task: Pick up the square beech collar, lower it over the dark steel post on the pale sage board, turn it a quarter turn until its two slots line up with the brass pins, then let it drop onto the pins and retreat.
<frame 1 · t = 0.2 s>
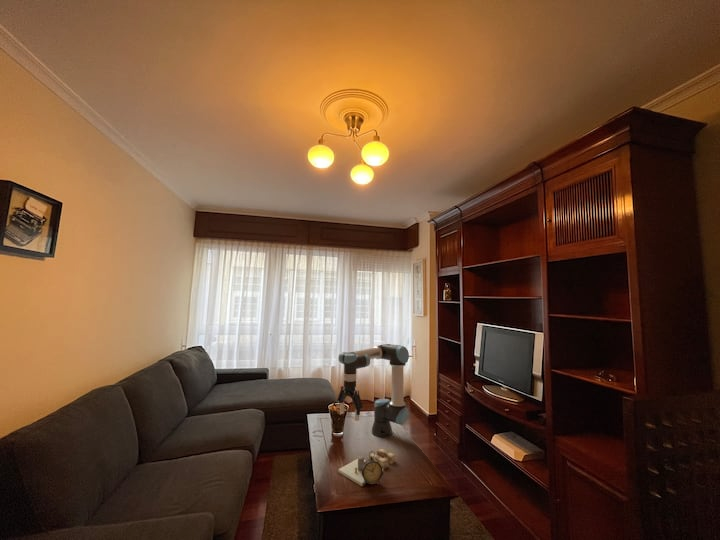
hand: (349, 417, 171), 27 cm above the table, fingers open, 13 cm apart
alarm clock: (371, 483, 152), on the table, touching post board
post board: (360, 472, 162), on the table
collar: (382, 461, 173), on the table
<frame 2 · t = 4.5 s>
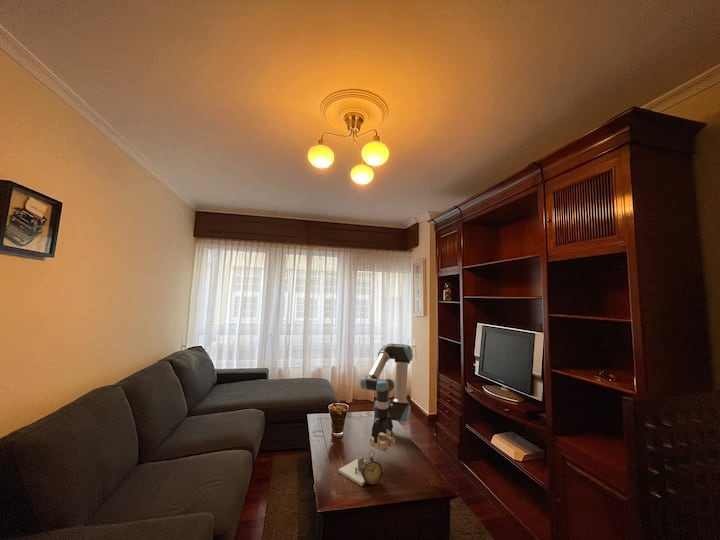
hand: (382, 444, 175), 10 cm above the table, fingers closed on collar, 11 cm apart
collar: (382, 444, 175), point 9 cm above the table, touching gripper
everything else where it was.
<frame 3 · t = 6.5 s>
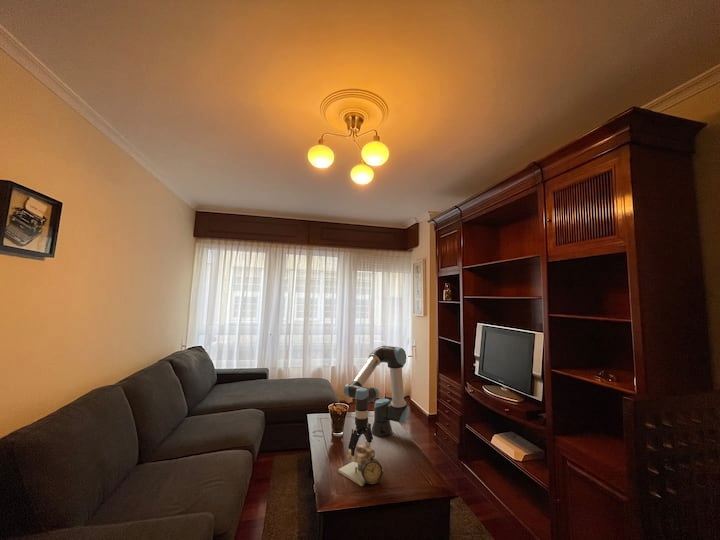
hand: (360, 457, 163), 8 cm above the table, fingers closed on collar, 11 cm apart
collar: (360, 457, 163), point 8 cm above the table, touching gripper
everything else where it was.
when the fingers open (2 cm above the table, at t = 8.9 s): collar stays where it is, resting on post board.
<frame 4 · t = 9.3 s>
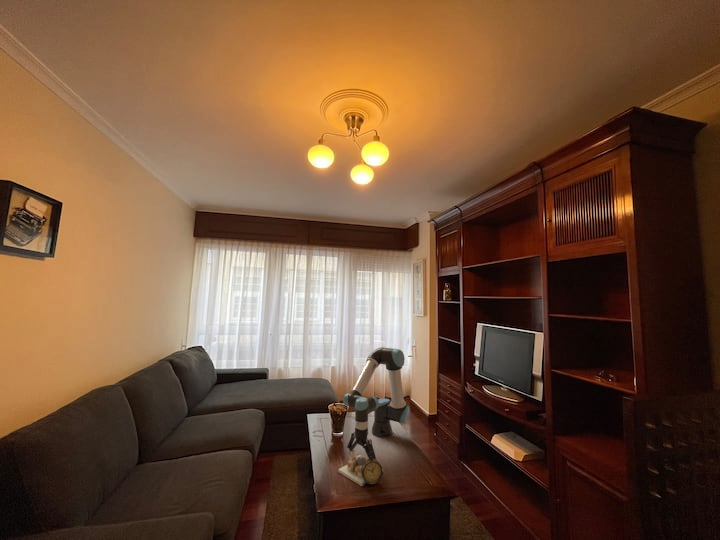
hand: (360, 467, 163), 3 cm above the table, fingers open, 13 cm apart
alarm clock: (371, 483, 152), on the table, touching hand, post board
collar: (360, 469, 163), point 1 cm above the table, touching post board
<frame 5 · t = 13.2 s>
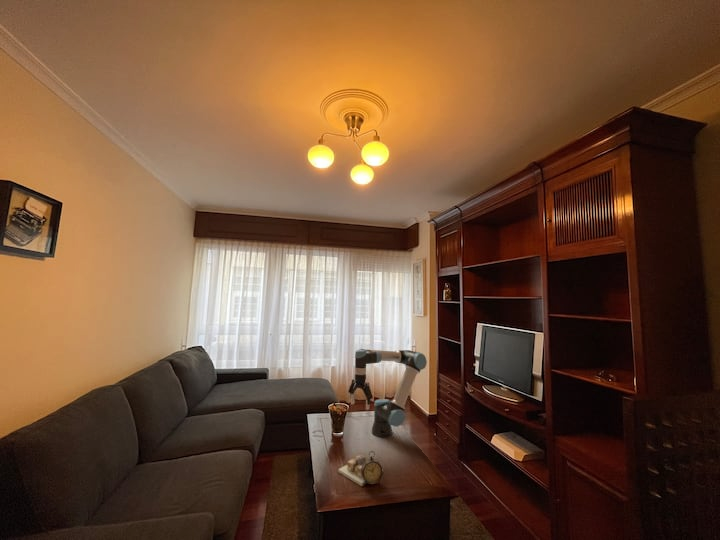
hand: (359, 406, 191), 27 cm above the table, fingers open, 13 cm apart
alarm clock: (371, 483, 152), on the table, touching post board
everything else where it was.
at the end: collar 0.1 cm off-centre on the post board, point 1.5 cm above the post board's base; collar tilted 0°; the gripper is holding nothing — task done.
